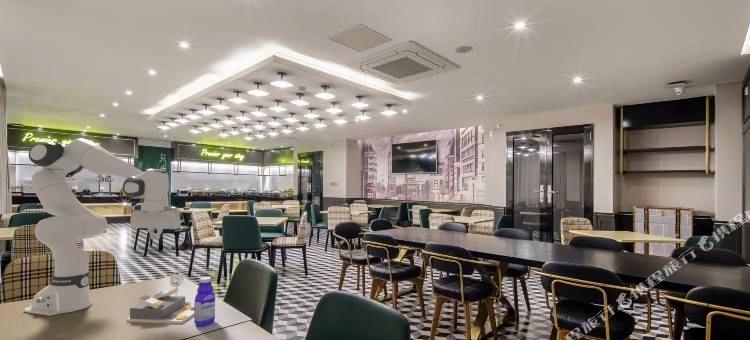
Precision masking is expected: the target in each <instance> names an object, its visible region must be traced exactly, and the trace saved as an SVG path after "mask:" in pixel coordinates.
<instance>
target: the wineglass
mask: <svg viewBox="0 0 750 340" xmlns="http://www.w3.org/2000/svg"><path fill="white" fill-rule="evenodd" d="M168 280H169V286H171V287H172V288H177V289H178V288H179V287H181V286H183V283H184V280H185V277H184V272H183V271H173V272H171V273H170V275H169V279H168ZM177 294H178V292H176V293H175V296H178V295H177Z"/></svg>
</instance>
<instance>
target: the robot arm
mask: <svg viewBox="0 0 750 340" xmlns="http://www.w3.org/2000/svg"><path fill="white" fill-rule="evenodd" d="M28 158H29V160H30V161H31V163H33V164H35V165H36V166H39V167H42V168H41V169H39V170H37V171H35V172H34V173H33V174H32V176H31V183H32V186H33V189H34V192H35V195H36V196H37V198H38V200H39V201H40V204H41V206H42V208H43V210H44V211H45V212H46V213H48V214H49V215H52V216H50V217H47V218H43V219H40V220H39V221H38V222H37V224H36V225H35V227H34V235H35V238H36V239H37V241H39V242H40V243H42V244H44V245H45V246H46V247H48V248H49V250H50V251H51V253H52V256H53V263H54V271H53V272H54V274H53V275H51V276H49V277H47V281H50V282H49V284H48V285H47V286H46V287H44V288H42V289H41V290H40V291H38V292H37V293H36V294H34V295H33V299H32V303H31V305H29V306H27V307H25V308H24V309H23V313H30V314H37V315H42V316H50V317H51V316H56V315H59V314H66V313H72V312H77V311H81V310H83V309H86V308H89V307H91V306H92V305H93V301H92V299H91V293H90V292H91V291H90V284H89V283H90V278H91V277H90V276H91V273H90V270H89V269H90V266H89V265H90V264H89V263H90V255H89V253H88V252H87V251H86V250H84V249H82V248H79V247H78V245H77V241H79V240H87V239H92V238H95V237H98V236H100V235H103V234H104V233H105V232H106V230H107V228H108V221H107V218H106V216H105V215H103V214H101V213H97V212H95V211H93V210H91V209H89V208H88V207H87V206H85V205H84V204H83V203H81V201H79V199H78V198H77V196H76V195H75V194H74V191H73V190H72V189H71V187H70V185H69V183H68V181H67V179H66V178H72V177H73V176H75V175H76V174H78V173H80V172H82V170H83V169H84V170H85V169H86V170H87V171H88V172H91V173H94V174H98V175H104V176H105V175H106V176H116V177H117V176H118V177H122V178H125V180H124V181H123V183H122V193H124V196H126V197H127V198H131V199H144V200H143V201H144V202H141V203H138V204H135V205H132V207H131V211H132V212H131V214H130V220H129V221H130V222H129V223H130V224H129V225H130V227H131V228H132V229H147V231H148V233H149V235H150V239H151V240H160V238H161V234H162V233H163V230H166V229H167V230H176V229H179V228H180V227H181V210H180V209H179V208H178V207H177V206H169V196H168V194H169V189H170V184H169V183H170V181H169V180H170V179H169V174H168V172H167V171H166V170H164V169H160V168H148V169H146V170H145V171H144V170H142V169H140V168H138V167H136V166H135V165H133V164H131V163H129V162H127V161H125V160H123V159H122V158H120V157H118V156H116V155H115V154H113V153H112V152H110V151H108V150H107V149H105V148H104V147H102V146H100V145H99V144H98V143H95V142H93V141H91V140H89V139H85V138H76V139H74V140H72V141H70V142H69V144H66V145H65V144H64V145H63V144H62V143H61V142H52V141H51V142H49V141H48V142H47V141H42V142H37V143H35V144H34V145H32V147H30V148H29V152H28ZM155 230H156V233H155Z"/></svg>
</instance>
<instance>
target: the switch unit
mask: <svg viewBox="0 0 750 340" xmlns="http://www.w3.org/2000/svg"><path fill="white" fill-rule="evenodd" d="M154 296H155V295H153V296H151V297H152V298H154ZM154 299H155V298H154ZM157 300H160V301H163V302H164V305H163V306H161V307H159V308H157V309H156V308H154V307H151V306H148V305H145V304H143V303H140V302H138V303H137V304H136V305H134V306H132V307H130V308H129V317H127V318H126V321H125V322H129V323H153V324H170V325H171V324H174V325H175V324H176V325H183V324H184V323H186V322H187V321H189V319H191V318H192V317H194V312H195V305H186V296H185V295H184V296H178V295H177V296H176V295H168V296H164V297H161V298H157Z"/></svg>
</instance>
